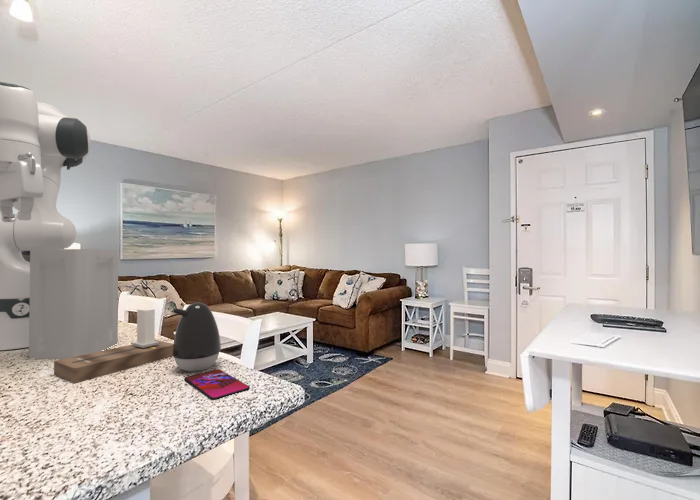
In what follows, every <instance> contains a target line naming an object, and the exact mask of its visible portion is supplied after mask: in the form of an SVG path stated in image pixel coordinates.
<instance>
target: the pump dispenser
mask: <svg viewBox="0 0 700 500" xmlns="http://www.w3.org/2000/svg"><path fill="white" fill-rule="evenodd" d="M172 313H174V314H176V315H178V316H181V317H180V320H179V322H178V325H177V327H176V329H175V334H174V338H173V343H172V344H173V357H172V358H174V362H175V364H176V365H177V368H179V369H181V370H183V371H185V372H189V373H191V372H193V373H196V372H200V371H202V372H203V371H205V370H207V369H209V368H211V367H212V366H213V365H214V364H215V363H216V362H217V360H218V358H219V354H220V352H221V350H222V346H221V345H222V343H221V337H220V332H219V328H218V324H217V321H216V319H215V317H214V314H213V312H212V310H211V308H209V306H208V304H205V303H203V302H194V303H191V304H189V305H188V306H187V307H186V308H185V309H181V308H175V307H174V308H173V309H172Z"/></svg>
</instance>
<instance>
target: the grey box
mask: <svg viewBox="0 0 700 500" xmlns="http://www.w3.org/2000/svg"><path fill="white" fill-rule="evenodd" d="M29 252H30V253H29V262H30V310H29V347H28V358H29V359H30V358H35V360H52V359H58V360H62V359H67V358H71V357H76V356H81V355H85V354H90V353H95V352H99V351H102V350H105V349H107V348H109V347H111V346H113V345H115V344H117V343H118V341H119V340H118V339H119V338H118V335H119V333H118V331H119V330H118V329H119V327H118V325H119V249H115V250H114V249H96V248H94V249H93V248H91V249H88V248H87V249H86V248H82V249H81V248H80V249H79V248H77V249H75V248H64V249H46V250H30V251H29ZM118 344H119V343H118ZM107 350H108V349H107Z"/></svg>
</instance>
